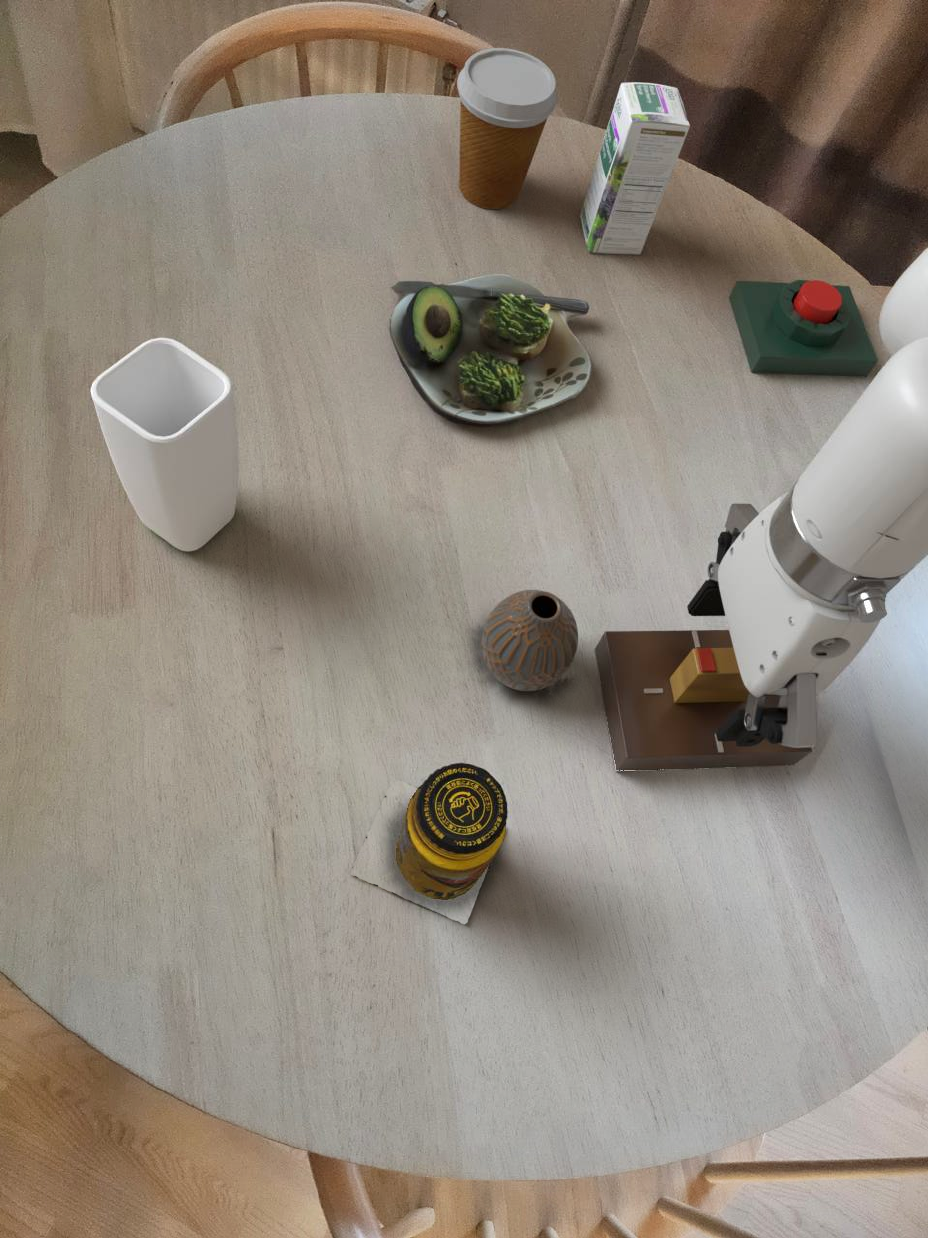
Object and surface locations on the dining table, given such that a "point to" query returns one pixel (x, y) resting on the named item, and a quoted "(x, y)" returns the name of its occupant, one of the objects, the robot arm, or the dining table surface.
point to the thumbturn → (708, 677)
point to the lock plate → (671, 706)
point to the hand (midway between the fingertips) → (721, 672)
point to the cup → (172, 439)
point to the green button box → (799, 333)
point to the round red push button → (817, 301)
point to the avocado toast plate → (488, 348)
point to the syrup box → (633, 167)
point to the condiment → (451, 831)
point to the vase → (530, 640)
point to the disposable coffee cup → (501, 122)
